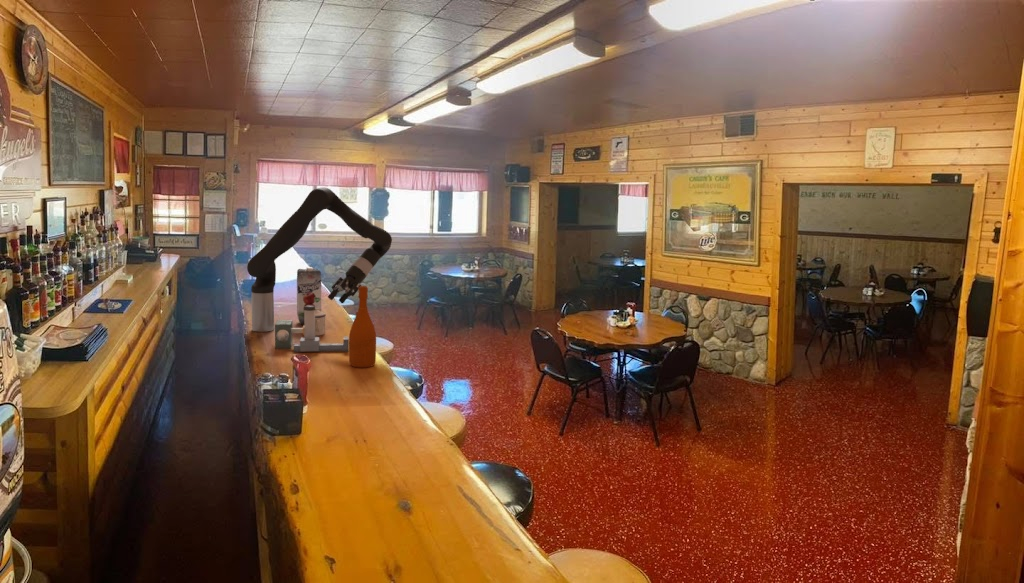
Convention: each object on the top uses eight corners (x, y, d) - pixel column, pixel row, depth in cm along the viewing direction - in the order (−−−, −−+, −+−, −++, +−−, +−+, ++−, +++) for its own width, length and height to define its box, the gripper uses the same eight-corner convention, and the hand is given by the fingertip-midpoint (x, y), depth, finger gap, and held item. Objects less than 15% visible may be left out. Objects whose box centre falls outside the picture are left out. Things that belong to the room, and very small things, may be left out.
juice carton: (296, 321, 308) (296, 265, 303) (319, 320, 312) (319, 265, 308) (298, 325, 300) (298, 268, 295) (322, 324, 304) (322, 267, 300)
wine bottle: (379, 362, 246) (380, 284, 241) (371, 369, 237) (372, 288, 232) (354, 360, 247) (354, 283, 242) (345, 367, 237) (345, 287, 233)
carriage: (301, 347, 260) (300, 305, 257) (319, 347, 262) (319, 305, 259) (300, 351, 254) (299, 308, 251) (318, 351, 256) (318, 308, 253)
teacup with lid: (302, 332, 288) (302, 306, 286) (323, 330, 292) (322, 305, 290) (308, 338, 278) (308, 311, 276) (329, 336, 282) (329, 310, 280)
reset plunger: (284, 333, 264) (284, 325, 263) (307, 333, 266) (307, 325, 265) (283, 335, 261) (283, 327, 260) (306, 335, 263) (306, 327, 262)
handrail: (294, 349, 259) (294, 337, 258) (348, 348, 264) (348, 336, 263) (293, 352, 254) (293, 340, 253) (348, 351, 259) (348, 339, 258)
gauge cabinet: (277, 343, 266) (276, 320, 264) (292, 343, 267) (292, 320, 266) (275, 349, 258) (274, 324, 256) (290, 348, 259) (290, 324, 258)
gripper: (344, 262, 272) (320, 292, 265) (363, 266, 262) (338, 297, 255) (355, 274, 276) (331, 303, 270) (374, 278, 266) (350, 308, 260)
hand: (335, 300), depth 263 cm, fingers open, 8 cm apart
